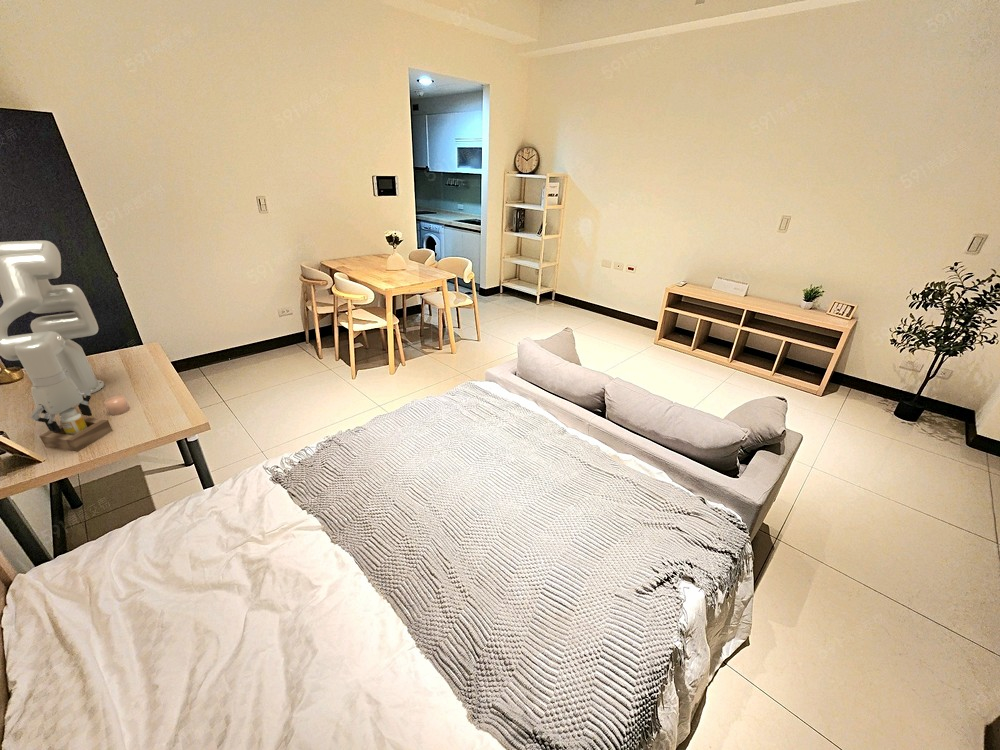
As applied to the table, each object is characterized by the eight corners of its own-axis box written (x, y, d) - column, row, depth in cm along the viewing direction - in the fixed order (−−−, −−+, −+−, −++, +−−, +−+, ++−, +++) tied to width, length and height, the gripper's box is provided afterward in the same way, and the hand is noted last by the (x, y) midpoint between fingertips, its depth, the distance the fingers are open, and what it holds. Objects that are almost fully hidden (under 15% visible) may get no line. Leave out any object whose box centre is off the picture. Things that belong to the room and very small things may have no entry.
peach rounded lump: (104, 414, 154) (99, 403, 151) (119, 405, 159) (114, 394, 157) (119, 416, 153) (113, 404, 151) (133, 407, 158) (128, 396, 156)
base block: (46, 448, 136) (39, 435, 134) (83, 427, 147) (77, 415, 144) (78, 452, 135) (71, 440, 133) (113, 431, 146) (107, 420, 143)
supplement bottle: (69, 441, 137) (56, 417, 132) (66, 434, 140) (53, 410, 135) (91, 434, 141) (79, 410, 136) (87, 427, 143) (76, 404, 139)
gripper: (68, 365, 138) (89, 408, 146) (5, 390, 123) (32, 436, 131) (87, 367, 137) (107, 411, 145) (26, 393, 122) (52, 440, 130)
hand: (72, 423), depth 138 cm, fingers open, 9 cm apart
